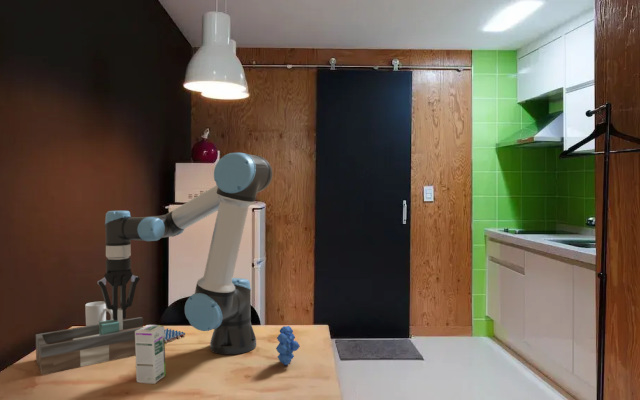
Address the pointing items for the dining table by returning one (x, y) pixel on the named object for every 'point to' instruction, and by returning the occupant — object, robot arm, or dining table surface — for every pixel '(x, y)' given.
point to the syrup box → (150, 354)
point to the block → (108, 327)
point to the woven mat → (172, 335)
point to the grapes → (286, 345)
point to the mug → (96, 313)
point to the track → (84, 346)
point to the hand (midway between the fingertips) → (119, 329)
